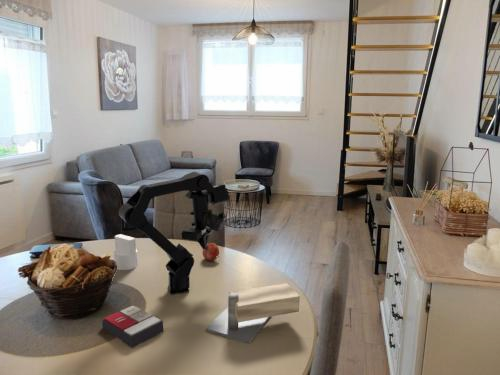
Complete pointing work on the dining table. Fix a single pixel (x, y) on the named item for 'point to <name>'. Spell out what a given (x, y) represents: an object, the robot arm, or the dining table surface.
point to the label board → (243, 332)
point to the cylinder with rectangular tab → (125, 252)
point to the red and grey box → (133, 326)
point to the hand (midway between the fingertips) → (204, 248)
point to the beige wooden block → (261, 303)
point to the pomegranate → (211, 252)
